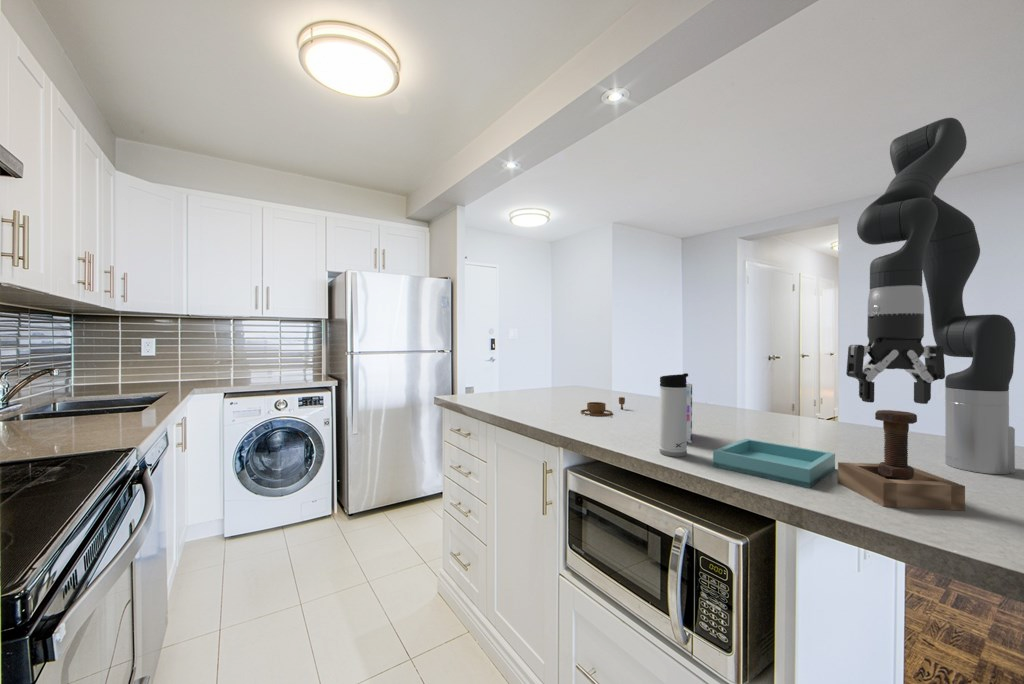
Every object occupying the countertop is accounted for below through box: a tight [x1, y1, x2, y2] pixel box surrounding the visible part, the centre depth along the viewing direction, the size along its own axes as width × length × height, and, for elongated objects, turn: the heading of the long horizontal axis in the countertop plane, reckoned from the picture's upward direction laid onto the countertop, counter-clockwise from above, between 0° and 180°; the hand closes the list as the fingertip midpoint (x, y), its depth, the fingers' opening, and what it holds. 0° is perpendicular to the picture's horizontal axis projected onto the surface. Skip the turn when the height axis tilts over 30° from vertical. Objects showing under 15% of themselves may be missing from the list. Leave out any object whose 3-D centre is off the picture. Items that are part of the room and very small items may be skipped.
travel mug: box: [659, 372, 689, 458], centre depth 103 cm, size 6×7×20 cm
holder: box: [837, 461, 966, 511], centre depth 75 cm, size 12×12×4 cm
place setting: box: [580, 396, 626, 418], centre depth 160 cm, size 18×20×6 cm
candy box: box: [686, 382, 693, 444], centre depth 120 cm, size 14×6×16 cm, turn 170°
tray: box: [712, 438, 836, 489], centre depth 91 cm, size 18×18×4 cm
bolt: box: [874, 409, 918, 480], centre depth 75 cm, size 6×5×15 cm
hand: (893, 402), depth 75 cm, fingers open, 8 cm apart
